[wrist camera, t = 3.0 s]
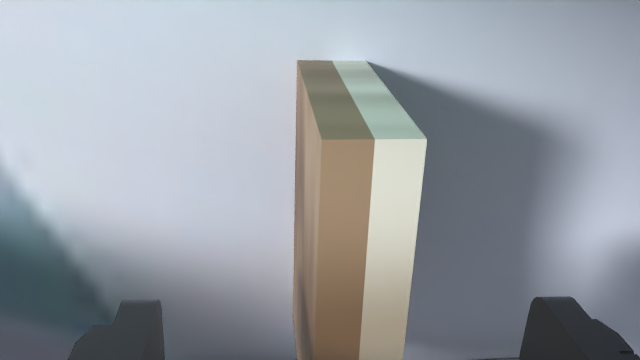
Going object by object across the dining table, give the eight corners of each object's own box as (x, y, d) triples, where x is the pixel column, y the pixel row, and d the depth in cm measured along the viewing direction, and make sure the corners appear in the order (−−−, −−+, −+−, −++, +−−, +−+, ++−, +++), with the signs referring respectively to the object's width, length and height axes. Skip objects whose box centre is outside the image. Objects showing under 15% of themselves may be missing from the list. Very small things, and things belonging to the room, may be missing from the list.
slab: (297, 60, 15) (321, 139, 10) (366, 60, 16) (427, 139, 10) (292, 315, 19) (309, 481, 13) (350, 313, 19) (390, 476, 13)
